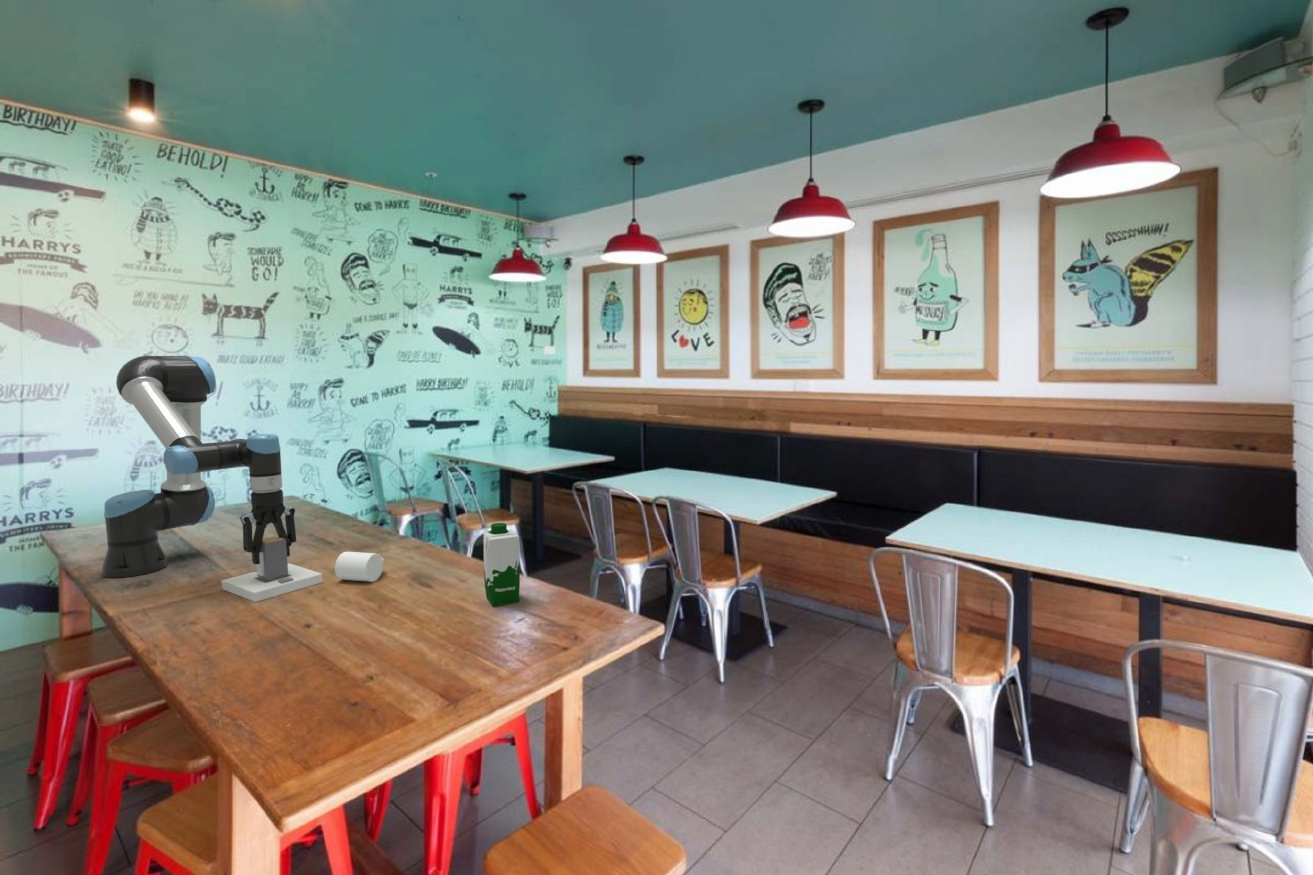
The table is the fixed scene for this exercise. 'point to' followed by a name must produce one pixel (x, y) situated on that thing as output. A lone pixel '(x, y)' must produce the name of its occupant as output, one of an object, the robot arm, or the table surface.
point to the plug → (274, 557)
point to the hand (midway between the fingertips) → (272, 571)
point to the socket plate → (271, 583)
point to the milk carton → (501, 565)
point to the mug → (359, 566)
